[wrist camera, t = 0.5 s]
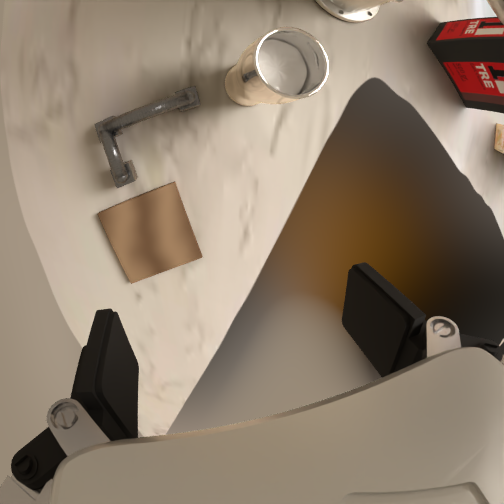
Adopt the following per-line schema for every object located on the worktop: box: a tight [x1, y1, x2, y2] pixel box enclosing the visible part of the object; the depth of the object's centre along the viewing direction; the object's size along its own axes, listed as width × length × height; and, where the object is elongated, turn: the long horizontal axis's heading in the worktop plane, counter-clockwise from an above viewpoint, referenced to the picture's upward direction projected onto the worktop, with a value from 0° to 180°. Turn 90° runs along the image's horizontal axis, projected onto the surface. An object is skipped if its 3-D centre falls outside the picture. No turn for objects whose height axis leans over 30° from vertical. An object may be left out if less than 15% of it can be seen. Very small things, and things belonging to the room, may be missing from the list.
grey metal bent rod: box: [95, 86, 201, 188], centre depth 31 cm, size 12×8×4 cm
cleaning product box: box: [427, 17, 504, 113], centre depth 28 cm, size 16×9×20 cm, turn 53°
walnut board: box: [98, 182, 202, 284], centre depth 37 cm, size 11×11×1 cm
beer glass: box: [225, 27, 329, 106], centre depth 26 cm, size 7×7×15 cm
